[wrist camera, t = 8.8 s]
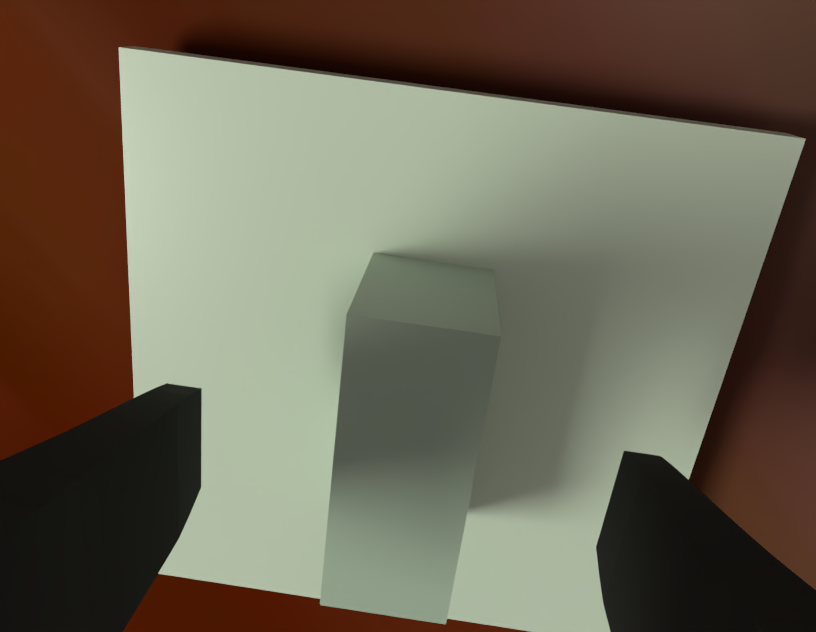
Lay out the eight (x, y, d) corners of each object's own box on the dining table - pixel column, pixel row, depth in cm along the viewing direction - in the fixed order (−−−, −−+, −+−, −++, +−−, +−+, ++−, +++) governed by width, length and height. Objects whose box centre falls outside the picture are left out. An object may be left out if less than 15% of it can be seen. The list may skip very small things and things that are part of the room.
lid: (616, 591, 18) (666, 777, 14) (170, 523, 19) (73, 682, 14) (764, 126, 14) (917, 172, 9) (160, 46, 14) (8, 50, 9)
